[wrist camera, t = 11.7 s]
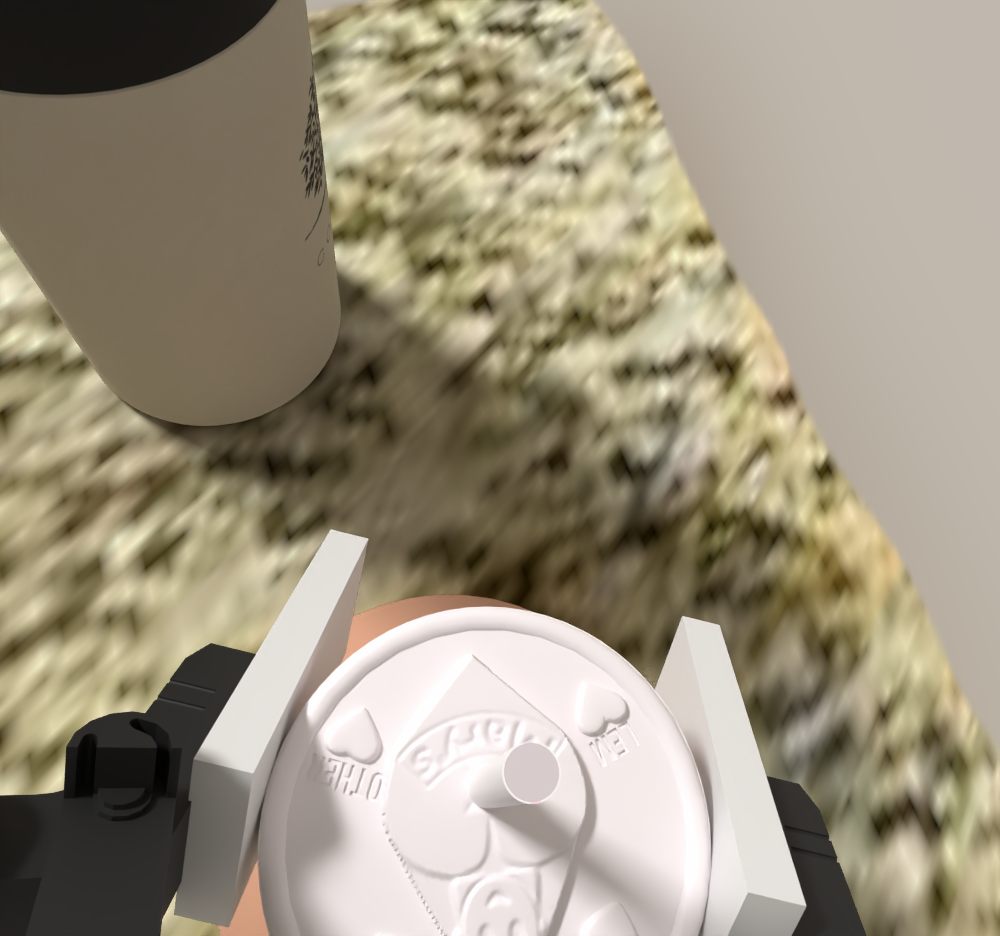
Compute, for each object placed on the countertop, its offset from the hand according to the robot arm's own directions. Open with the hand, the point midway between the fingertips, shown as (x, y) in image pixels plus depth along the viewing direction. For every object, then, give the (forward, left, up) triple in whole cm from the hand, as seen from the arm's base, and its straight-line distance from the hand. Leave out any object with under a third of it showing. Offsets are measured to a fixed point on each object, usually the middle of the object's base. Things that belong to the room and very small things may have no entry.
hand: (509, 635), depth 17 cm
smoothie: (+3, -2, -6) cm, 7 cm away
